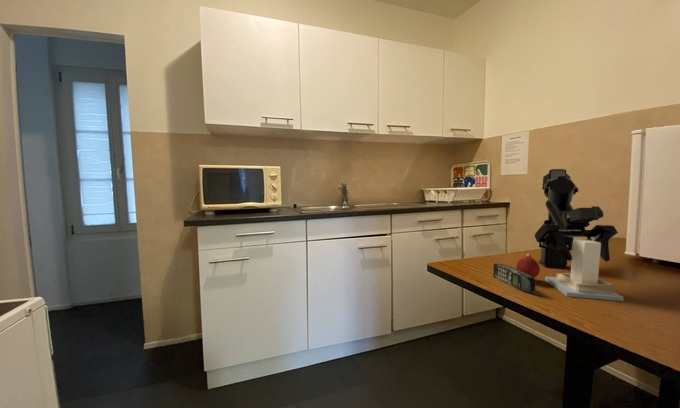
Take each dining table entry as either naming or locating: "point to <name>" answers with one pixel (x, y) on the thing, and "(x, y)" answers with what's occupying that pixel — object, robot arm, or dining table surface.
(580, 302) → the dining table surface
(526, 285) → the mobile phone
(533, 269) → the onion
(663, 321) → the dining table surface
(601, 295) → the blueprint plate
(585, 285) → the socket collar
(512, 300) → the dining table surface
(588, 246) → the block
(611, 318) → the dining table surface
